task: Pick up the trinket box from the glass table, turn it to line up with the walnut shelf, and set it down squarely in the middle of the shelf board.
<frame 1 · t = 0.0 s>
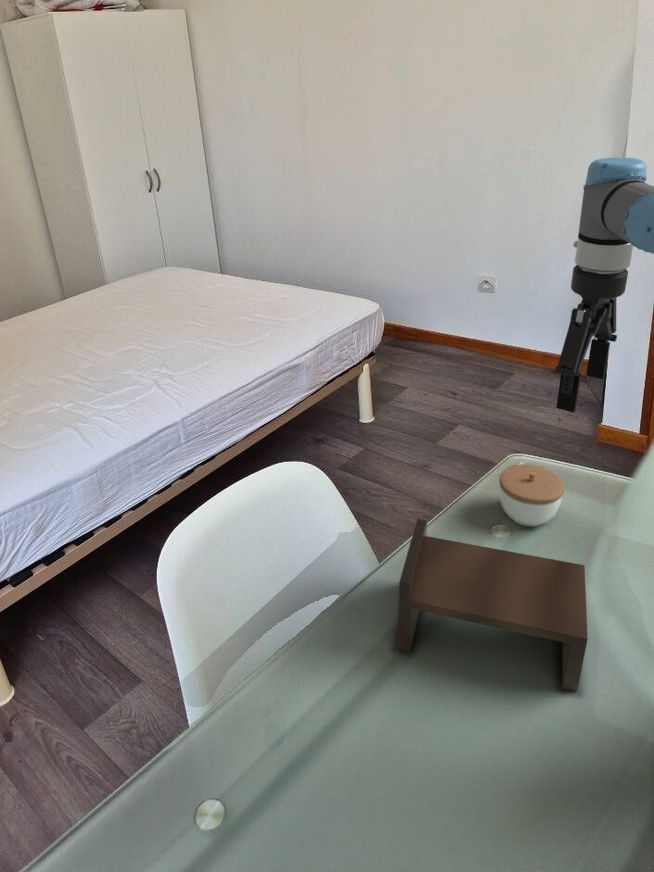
hand: (581, 392, 112), 26 cm above the table, tool pointing down, fingers open, 13 cm apart
shelf: (487, 632, 101), on the table
trinket box: (526, 517, 124), on the table
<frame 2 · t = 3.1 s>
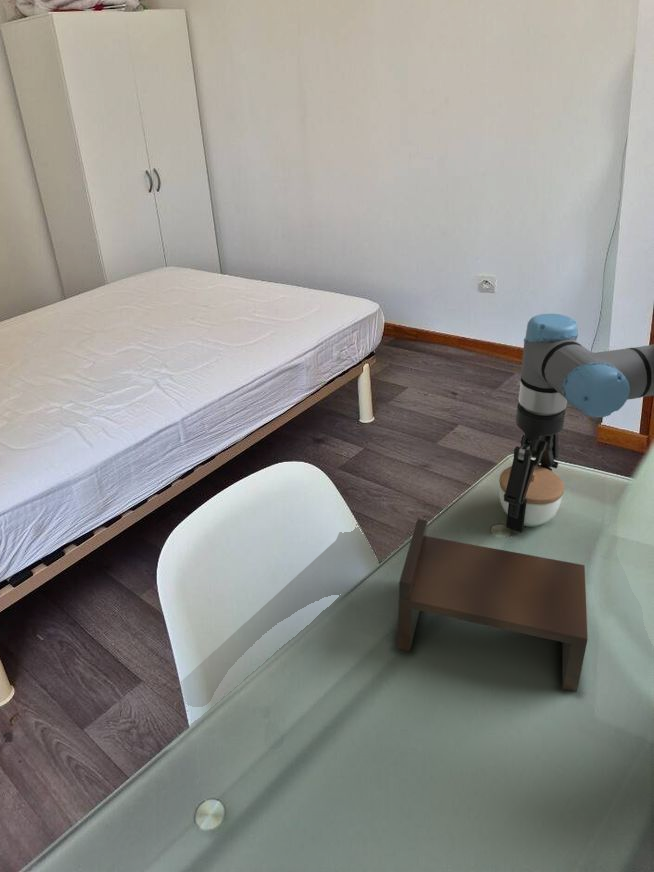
hand: (527, 512, 123), 1 cm above the table, tool pointing down, fingers closed on trinket box, 11 cm apart
trinket box: (526, 517, 124), on the table, touching gripper
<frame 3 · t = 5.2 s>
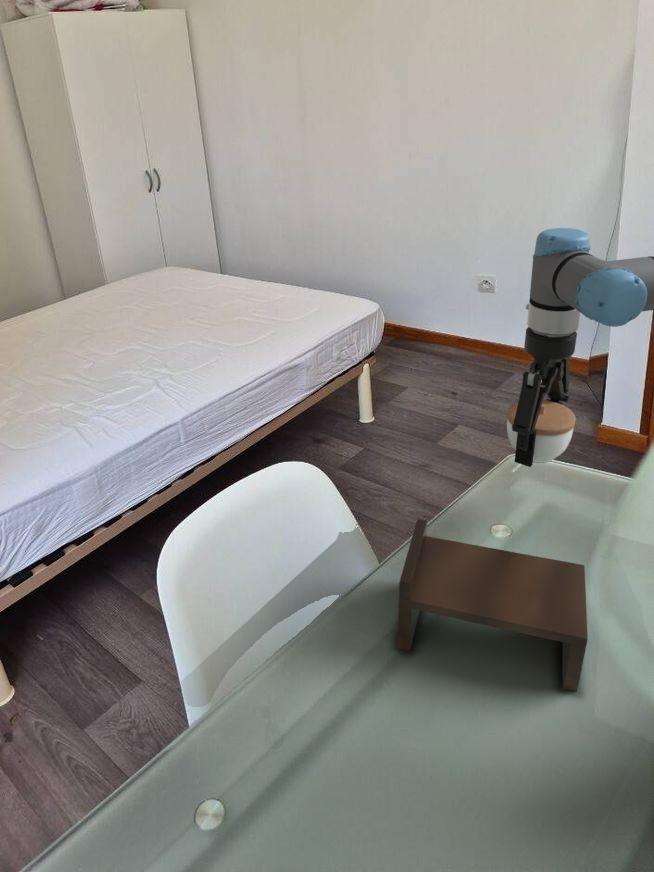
hand: (536, 448, 117), 15 cm above the table, tool pointing down, fingers closed on trinket box, 11 cm apart
trinket box: (536, 454, 118), point 14 cm above the table, touching gripper
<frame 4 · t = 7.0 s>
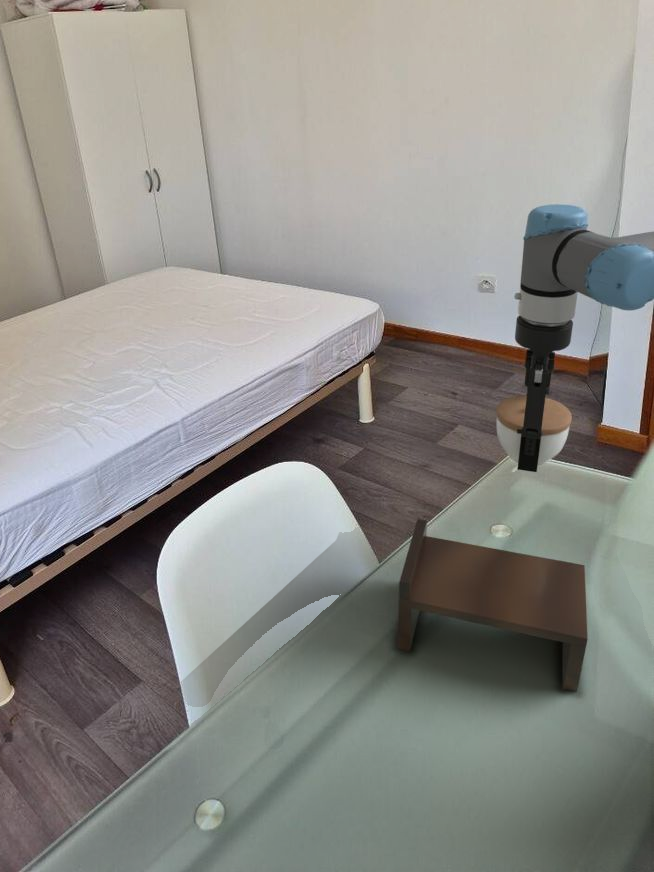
hand: (529, 449, 107), 21 cm above the table, tool pointing down, fingers closed on trinket box, 11 cm apart
trinket box: (528, 455, 107), point 19 cm above the table, touching gripper
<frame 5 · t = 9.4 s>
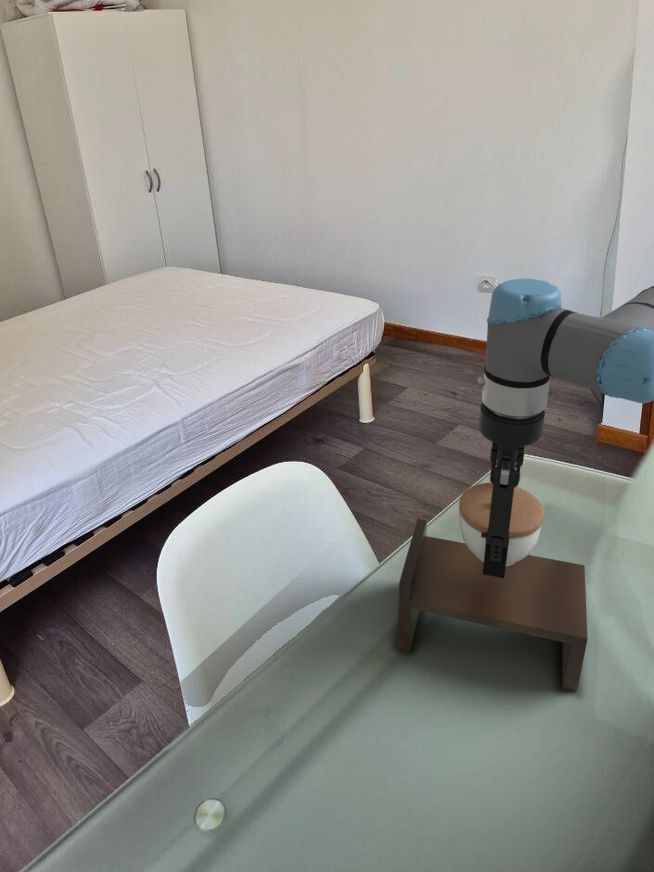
hand: (497, 546, 94), 16 cm above the table, tool pointing down, fingers closed on trinket box, 11 cm apart
trinket box: (495, 552, 94), point 15 cm above the table, touching gripper
when the fingers open (11 cm above the table, at t = 11.2 s): trinket box stays where it is, resting on shelf.
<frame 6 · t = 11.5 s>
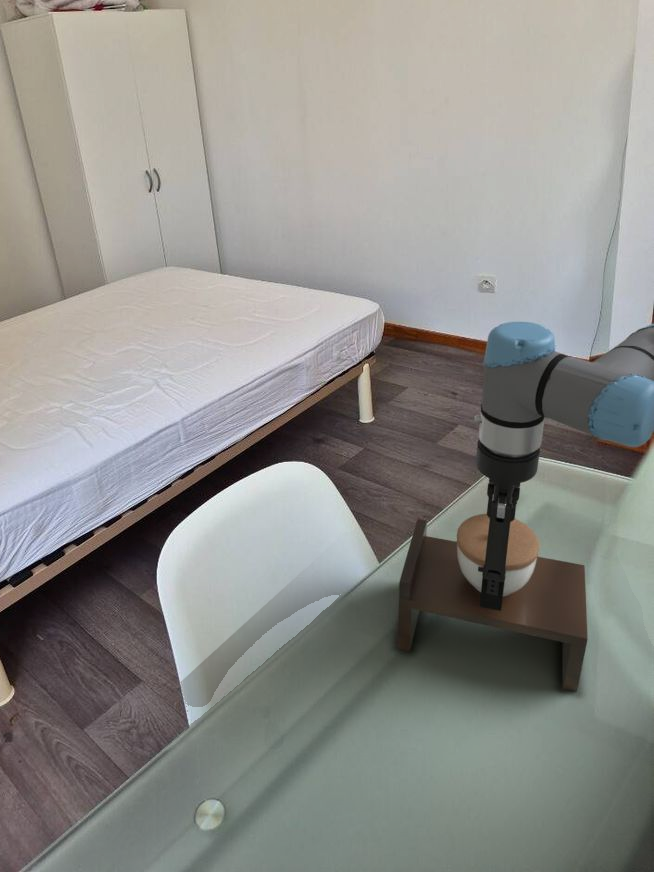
hand: (494, 572, 96), 12 cm above the table, tool pointing down, fingers open, 13 cm apart
trinket box: (492, 582, 97), point 10 cm above the table, touching shelf
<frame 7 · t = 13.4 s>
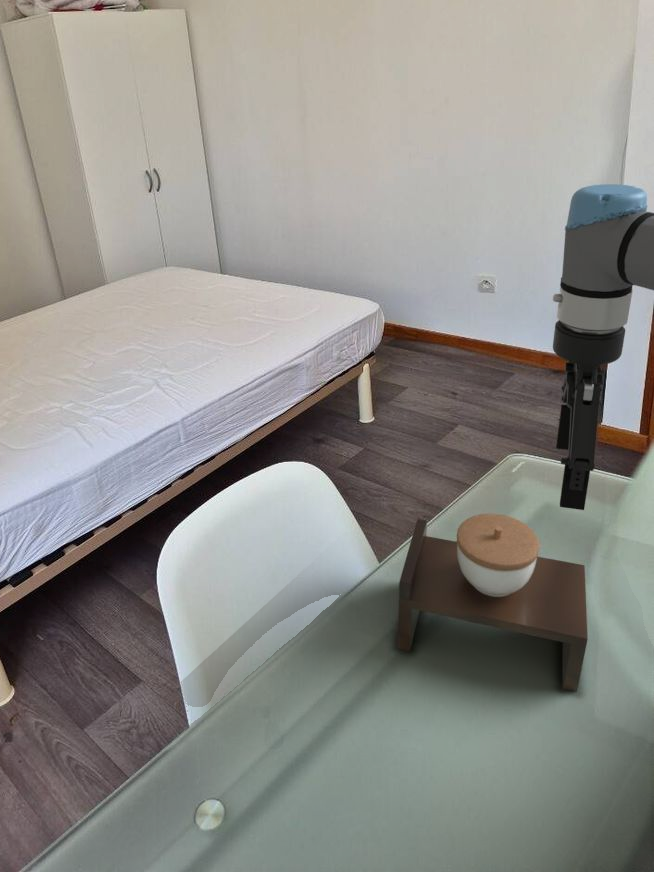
hand: (569, 475, 89), 27 cm above the table, tool pointing down, fingers open, 13 cm apart
nothing on the table moved.
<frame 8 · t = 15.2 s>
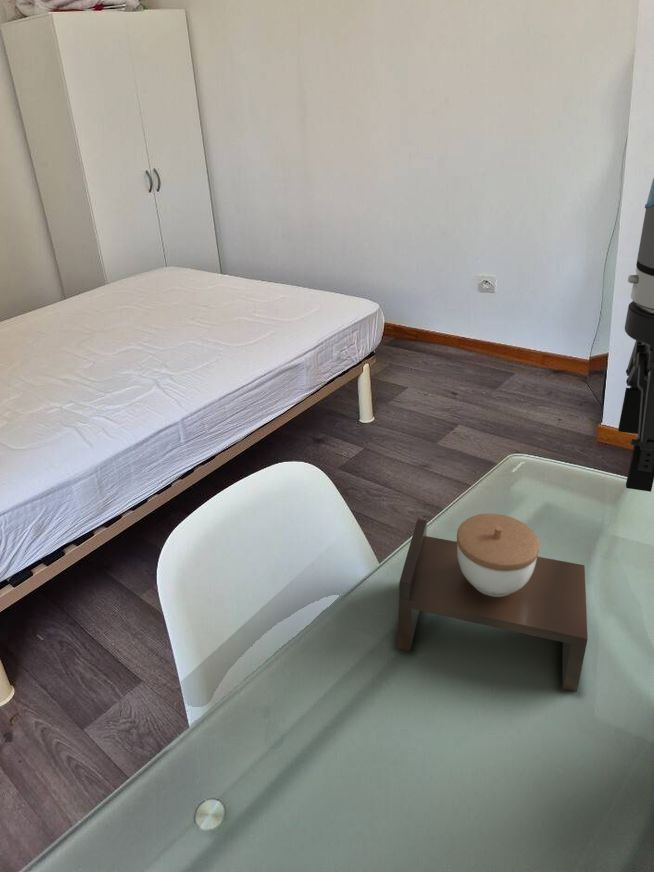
hand: (633, 458, 89), 29 cm above the table, tool pointing down, fingers open, 13 cm apart
nothing on the table moved.
at the end: trinket box inside the target area on the shelf (0.1 cm from its centre), point 9.8 cm above the shelf's base; trinket box tilted 0°; the gripper is holding nothing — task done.
